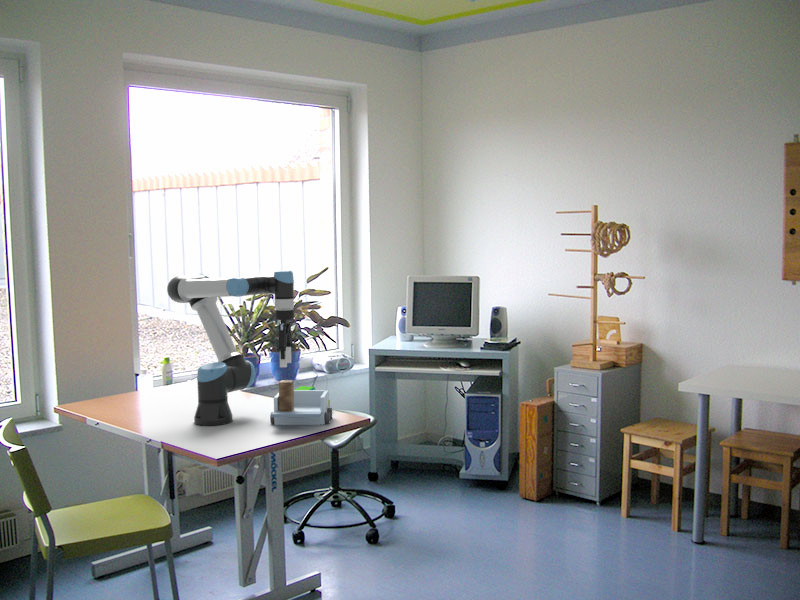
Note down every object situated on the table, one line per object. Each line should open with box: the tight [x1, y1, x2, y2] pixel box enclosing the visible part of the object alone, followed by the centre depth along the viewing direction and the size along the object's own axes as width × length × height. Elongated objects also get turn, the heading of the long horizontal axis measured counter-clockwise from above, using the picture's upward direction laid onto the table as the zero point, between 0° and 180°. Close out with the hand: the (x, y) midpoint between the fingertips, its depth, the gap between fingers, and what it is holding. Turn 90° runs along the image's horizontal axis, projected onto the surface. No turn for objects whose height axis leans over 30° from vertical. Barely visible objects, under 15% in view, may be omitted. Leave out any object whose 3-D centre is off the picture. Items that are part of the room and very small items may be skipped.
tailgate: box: [270, 411, 323, 418], centre depth 300 cm, size 19×2×8 cm
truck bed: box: [269, 389, 333, 426], centre depth 312 cm, size 23×15×11 cm, turn 88°
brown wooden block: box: [278, 379, 295, 412], centre depth 308 cm, size 5×5×12 cm
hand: (285, 365), depth 307 cm, fingers open, 9 cm apart
